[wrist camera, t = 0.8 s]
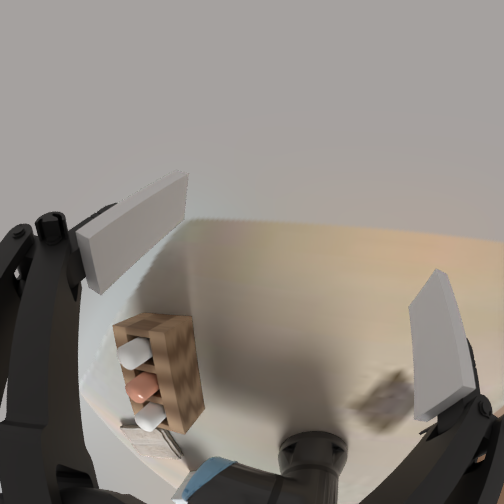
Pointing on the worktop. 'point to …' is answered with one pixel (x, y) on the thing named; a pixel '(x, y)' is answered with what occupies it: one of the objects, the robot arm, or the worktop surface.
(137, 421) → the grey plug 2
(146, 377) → the terracotta plug
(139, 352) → the grey plug
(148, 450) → the washcloth
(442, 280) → the robot arm
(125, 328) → the walnut socket block
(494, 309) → the worktop surface
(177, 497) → the supplement box
